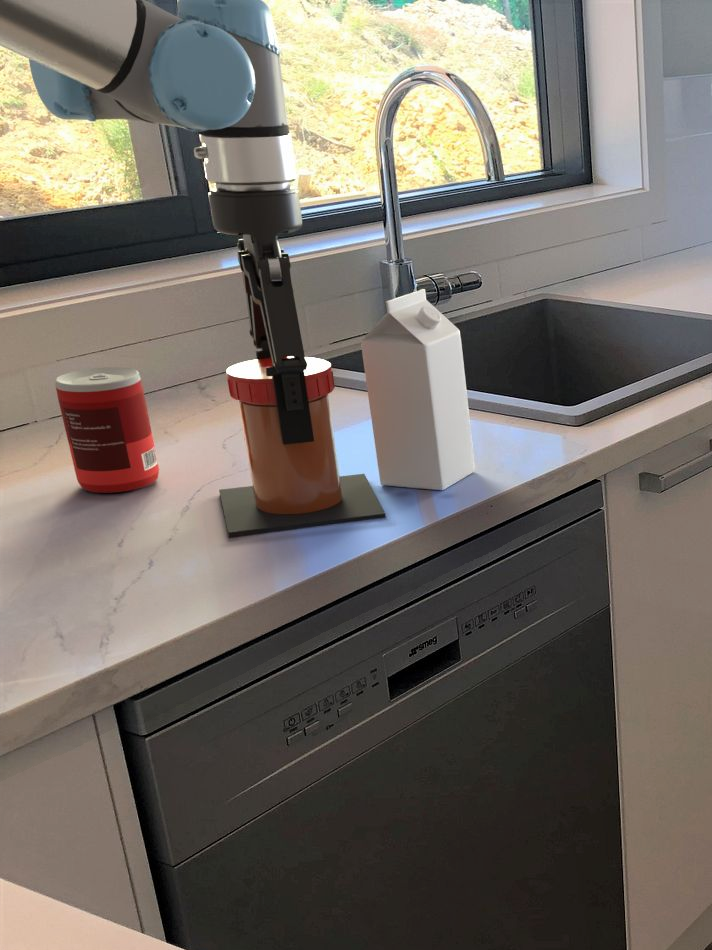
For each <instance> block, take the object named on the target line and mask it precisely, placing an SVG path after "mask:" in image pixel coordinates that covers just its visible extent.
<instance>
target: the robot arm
mask: <svg viewBox="0 0 712 950" xmlns="http://www.w3.org/2000/svg"><path fill="white" fill-rule="evenodd" d="M176 5H177V6H176V7H177V13H176V15H174V14H173V13H170V12H169V11H167V10H165V9H163V8H161V7H159V6H157V5H155V4H154V3H151V1H148V0H0V47H2V48H5V49H7V50H9V51H11V52H13V53H16V54H18V55H20V56H21V57H24V58H26V59H28V63H29V69H30V73H31V77H32V81H33V83H34V87H35V89H36V92H37V94H38V96H39V98H40V100H41V102H42V104H43V105H44V107H45V108H46V110H47V111H48V112H49V113H50V114H51V115H53V116H54V117H56V118H58V119H61V120H69V121H70V120H72V121H73V120H75V121H76V120H77V121H79V120H80V121H89V122H97V121H100V120H101V121H102V120H126V121H133V122H141V123H148V124H158V125H164V126H170V127H177V128H182V129H184V130H186V131H189V132H190V131H191V132H196V133H197V135H199V141H200V143H201V144H203V146H197V147H194V148H193V154H194V158H196V159H199V160H200V159H201V160H202V159H204V161H203V167H204V174H205V178H206V180H207V181H208V182H209V183H210V184H214V187H213V188H212V187H211V188H210V189H209V192H208V193H207V195H208V202H209V208H210V213H211V220H212V226H213V228H214V229H215V230H216V231H217V232H218V233H221V234H223V235H224V234H225V235H232V236H242V238H240V239H239V238H238V240H237V243H236V244H237V249H238V250H239V251H237V261H238V265H239V267H240V270H241V273H242V283H243V287H244V291H245V298H246V299H245V300H246V306H247V313H248V314H247V315H248V323H249V330H248V332H249V336H250V337H251V339H252V343H253V346H254V347H255V349H256V350H255V357H256V360H257V359H265V358H271V359H272V363H273V366H272V367H269V368H266V371H265V372H266V376H272V379H273V385H274V392H275V398H276V405H277V411H278V418H279V424H280V431H281V437H282V443H283V445H286V444H295V443H304V442H313V441H314V436H313V429H312V422H311V415H310V408H309V402H308V395H307V388H306V381H305V374H304V370H306V369H307V361H306V360H305V357H306V356H305V350H304V344H303V339H302V333H301V327H300V322H299V317H298V311H297V306H296V301H295V295H294V289H293V284H292V277H291V261H290V256H289V253H288V252H285V250H284V248H281V246H280V242H279V239H278V235H280V234H282V233H286V234H288V233H294V232H297V231H298V230H300V229H301V228H302V226H303V216H302V209H301V201H300V196H299V190H297V189H296V187H294V186H292V185H291V183H292V182H295V180H297V169H296V162H295V161H296V160H295V155H294V148H293V140H292V133H290V127H289V121H288V120H289V119H288V112H287V105H286V97H285V91H284V82H283V75H282V66H281V58H282V53H281V51H280V48H279V42H278V36H277V32H276V27H275V24H274V19H273V15H272V12H271V9H270V7H269V6H268V4H267V3H266V2H265V1H264V0H177V3H176ZM282 357H293V358H282Z"/></svg>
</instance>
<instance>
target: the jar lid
mask: <svg viewBox="0 0 712 950" xmlns="http://www.w3.org/2000/svg"><path fill="white" fill-rule="evenodd" d="M282 358H293V356H287V357H282ZM305 360H306V361H307V369H306V370H304V374H305V381H306V388H307V395H308V400H310V399H314V398H318V397H322V396H324V395H327V394H328V395H329V394H331V393H332V392H333V391H334V390H335V388H336V386H335V378H334V372H333V370H332V369H333V367H332V363H331V362H329V361H328V360H325V359H322V358H316V357H308V356H305ZM272 366H273V363H272V359H271V358H265V359H257V358H256V359H252V360H251V359H250V360H246V361H242V362H239V363H236V364H233V365H231V366H229V367H228V368H226V372H225V373H226V379H227V385H228V386H227V387H228V393H229V396H230V398H231V399H233V400H236V401H238V402H239V401H242V402H248V403H263V404H273V403H276V398H275V392H274V385H273V379H272V376H266V372H265V371H266V368H269V367H272Z"/></svg>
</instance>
